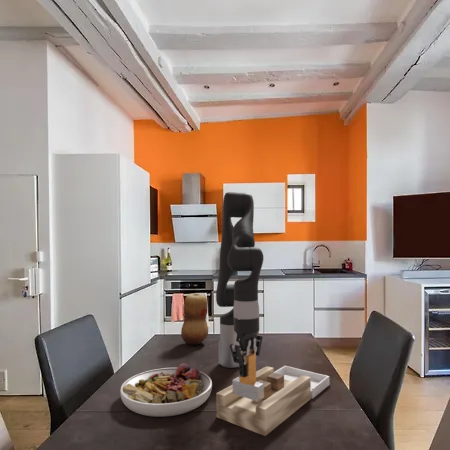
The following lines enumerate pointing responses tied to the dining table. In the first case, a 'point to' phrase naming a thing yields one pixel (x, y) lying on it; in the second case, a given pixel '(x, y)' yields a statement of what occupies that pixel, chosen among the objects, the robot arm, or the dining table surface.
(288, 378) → the tray
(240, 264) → the robot arm
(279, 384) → the brown cube
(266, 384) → the brown wooden cube
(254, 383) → the scraper
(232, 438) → the dining table surface
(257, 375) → the channel board
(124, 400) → the bowl
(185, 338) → the butternut squash
